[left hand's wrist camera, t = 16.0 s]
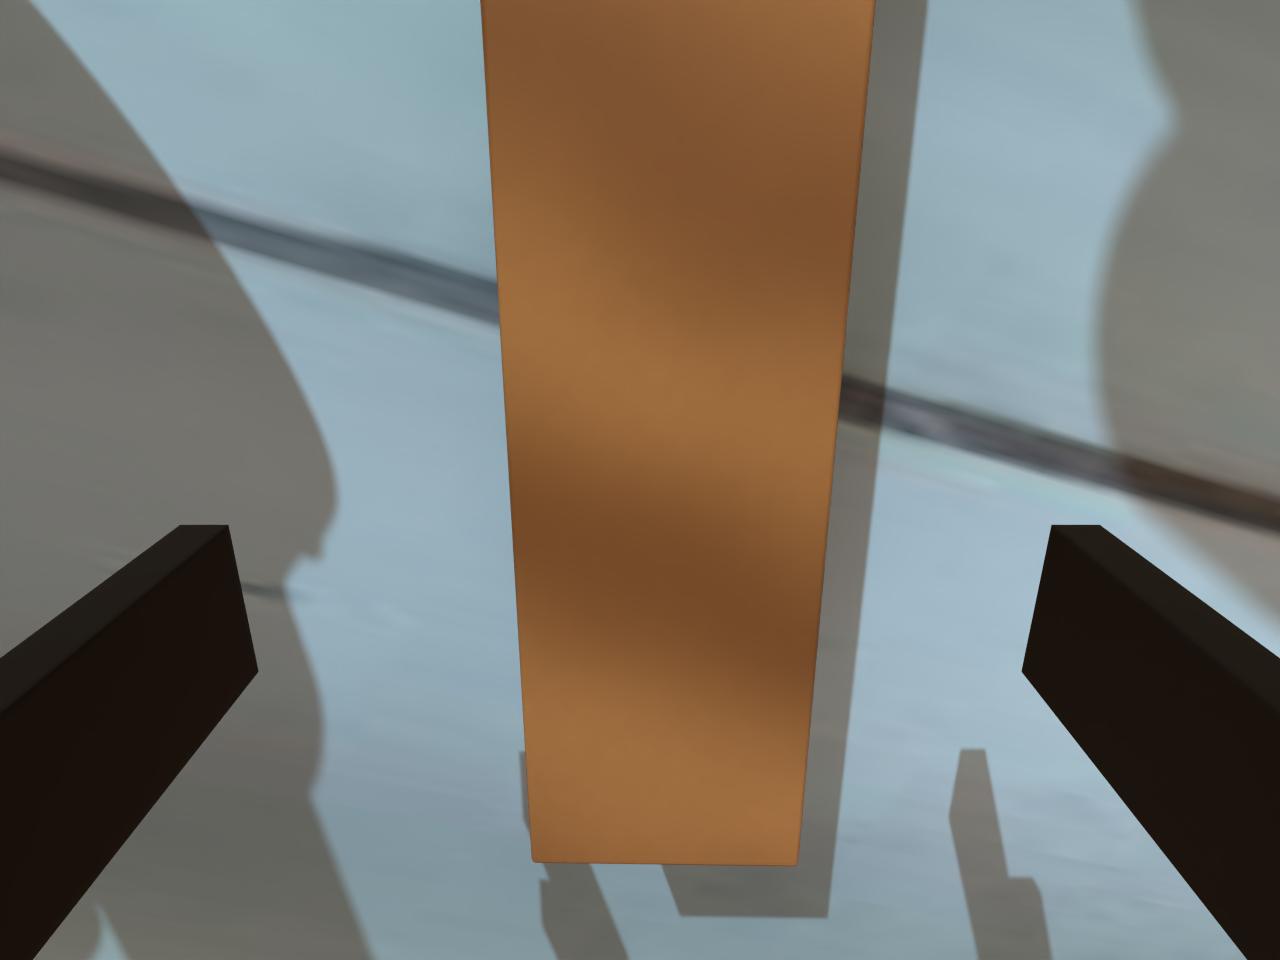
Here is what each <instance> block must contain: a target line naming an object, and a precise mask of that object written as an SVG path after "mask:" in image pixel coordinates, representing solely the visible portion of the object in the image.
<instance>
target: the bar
mask: <svg viewBox="0 0 1280 960" xmlns="http://www.w3.org/2000/svg"><path fill="white" fill-rule="evenodd" d="M480 2H481V18H482V35H483V52H484V69H485V85H486V102H487V119H488V135H489V152H490V169H491V186H492V202H493V219H494V236H495V252H496V269H497V286H498V303H499V319H500V336H501V353H502V369H503V386H504V403H505V420H506V436H507V453H508V470H509V487H510V503H511V520H512V537H513V553H514V570H515V587H516V604H517V620H518V637H519V654H520V670H521V687H522V704H523V721H524V737H525V754H526V771H527V787H528V804H529V821H530V838H531V854H532V860H533V862H536V863H602V864H675V865H748V866H796V865H797V863H798V857H799V846H800V835H801V823H802V812H803V801H804V790H805V779H806V768H807V757H808V746H809V735H810V724H811V712H812V701H813V690H814V679H815V668H816V657H817V646H818V635H819V624H820V612H821V601H822V590H823V579H824V568H825V557H826V546H827V535H828V524H829V513H830V501H831V490H832V479H833V468H834V457H835V446H836V435H837V424H838V413H839V402H840V390H841V379H842V368H843V357H844V346H845V335H846V324H847V313H848V302H849V290H850V279H851V268H852V257H853V246H854V235H855V224H856V213H857V202H858V191H859V179H860V168H861V157H862V146H863V135H864V124H865V113H866V102H867V91H868V79H869V68H870V57H871V46H872V35H873V24H874V13H875V2H876V0H480Z"/></svg>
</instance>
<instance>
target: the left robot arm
mask: <svg viewBox="0 0 1280 960" xmlns="http://www.w3.org/2000/svg"><path fill="white" fill-rule="evenodd" d="M257 673H258V667H257V662H256V657H255V652H254V648H253V643H252V638H251V633H250V628H249V623H248V618H247V613H246V609H245V604H244V599H243V594H242V589H241V584H240V579H239V574H238V570H237V565H236V560H235V555H234V550H233V545H232V540H231V535H230V531H229V526H228V525H180V526H178V527H177V528H175V529H174V530H173V531H171V532H170V533H169V534H167V535H166V536H165V537H163V538H162V539H161V540H159V541H158V542H157V543H155V544H154V545H153V546H151V547H150V548H148V549H147V550H146V551H144V552H143V553H142V554H140V555H139V556H138V557H136V558H135V559H134V560H132V561H131V562H130V563H128V564H127V565H126V566H124V567H123V568H121V569H120V570H119V571H117V572H116V573H115V574H113V575H112V576H111V577H109V578H108V579H107V580H105V581H104V582H103V583H101V584H100V585H99V586H97V587H96V588H94V589H93V590H92V591H90V592H89V593H88V594H86V595H85V596H84V597H82V598H81V599H80V600H78V601H77V602H76V603H74V604H73V605H72V606H70V607H69V608H67V609H66V610H65V611H63V612H62V613H61V614H59V615H58V616H57V617H55V618H54V619H53V620H51V621H50V622H49V623H47V624H46V625H45V626H43V627H42V628H40V629H39V630H38V631H36V632H35V633H34V634H32V635H31V636H30V637H28V638H27V639H26V640H24V641H23V642H22V643H20V644H19V645H18V646H16V647H15V648H13V649H12V650H11V651H9V652H8V653H7V654H5V655H4V656H3V657H1V658H0V960H33V959H34V957H35V956H36V955H37V954H38V952H39V951H40V950H41V948H42V947H43V946H44V945H45V943H46V942H47V941H48V940H49V938H50V937H51V936H52V934H53V933H54V932H55V931H56V929H57V928H58V927H59V925H60V924H61V923H62V922H63V920H64V919H65V918H66V917H67V915H68V914H69V913H70V911H71V910H72V909H73V908H74V906H75V905H76V904H77V903H78V901H79V900H80V899H81V897H82V896H83V895H84V894H85V892H86V891H87V890H88V888H89V887H90V886H91V885H92V883H93V882H94V881H95V880H96V878H97V877H98V876H99V874H100V873H101V872H102V871H103V869H104V868H105V867H106V865H107V864H108V863H109V862H110V860H111V859H112V858H113V857H114V855H115V854H116V853H117V851H118V850H119V849H120V848H121V846H122V845H123V844H124V843H125V841H126V840H127V839H128V837H129V836H130V835H131V834H132V832H133V831H134V830H135V828H136V827H137V826H138V825H139V823H140V822H141V821H142V820H143V818H144V817H145V816H146V814H147V813H148V812H149V811H150V809H151V808H152V807H153V805H154V804H155V803H156V802H157V800H158V799H159V798H160V797H161V795H162V794H163V793H164V791H165V790H166V789H167V788H168V786H169V785H170V784H171V783H172V781H173V780H174V779H175V777H176V776H177V775H178V774H179V772H180V771H181V770H182V768H183V767H184V766H185V765H186V763H187V762H188V761H189V760H190V758H191V757H192V756H193V754H194V753H195V752H196V751H197V749H198V748H199V747H200V745H201V744H202V743H203V742H204V740H205V739H206V738H207V737H208V735H209V734H210V733H211V731H212V730H213V729H214V728H215V726H216V725H217V724H218V723H219V721H220V720H221V719H222V717H223V716H224V715H225V714H226V712H227V711H228V710H229V708H230V707H231V706H232V705H233V703H234V702H235V701H236V700H237V698H238V697H239V696H240V694H241V693H242V692H243V691H244V689H245V688H246V687H247V685H248V684H249V683H250V682H251V680H252V679H253V678H254V677H255V675H256V674H257ZM1022 673H1023V674H1024V675H1025V677H1026V678H1027V679H1028V680H1029V682H1030V683H1031V684H1032V685H1033V687H1034V688H1035V689H1036V691H1037V692H1038V693H1039V694H1040V696H1041V697H1042V698H1043V700H1044V701H1045V702H1046V703H1047V705H1048V706H1049V707H1050V708H1051V710H1052V711H1053V712H1054V714H1055V715H1056V716H1057V717H1058V719H1059V720H1060V721H1061V723H1062V724H1063V725H1064V726H1065V728H1066V729H1067V730H1068V731H1069V733H1070V734H1071V735H1072V737H1073V738H1074V739H1075V740H1076V742H1077V743H1078V744H1079V745H1080V747H1081V748H1082V749H1083V751H1084V752H1085V753H1086V754H1087V756H1088V757H1089V758H1090V760H1091V761H1092V762H1093V763H1094V765H1095V766H1096V767H1097V768H1098V770H1099V771H1100V772H1101V774H1102V775H1103V776H1104V777H1105V779H1106V780H1107V781H1108V783H1109V784H1110V785H1111V786H1112V788H1113V789H1114V790H1115V791H1116V793H1117V794H1118V795H1119V797H1120V798H1121V799H1122V800H1123V802H1124V803H1125V804H1126V805H1127V807H1128V808H1129V809H1130V811H1131V812H1132V813H1133V814H1134V816H1135V817H1136V818H1137V820H1138V821H1139V822H1140V823H1141V825H1142V826H1143V827H1144V828H1145V830H1146V831H1147V832H1148V834H1149V835H1150V836H1151V837H1152V839H1153V840H1154V841H1155V843H1156V844H1157V845H1158V846H1159V848H1160V849H1161V850H1162V851H1163V853H1164V854H1165V855H1166V857H1167V858H1168V859H1169V860H1170V862H1171V863H1172V864H1173V865H1174V867H1175V868H1176V869H1177V871H1178V872H1179V873H1180V874H1181V876H1182V877H1183V878H1184V880H1185V881H1186V882H1187V883H1188V885H1189V886H1190V887H1191V888H1192V890H1193V891H1194V892H1195V894H1196V895H1197V896H1198V897H1199V899H1200V900H1201V901H1202V903H1203V904H1204V905H1205V906H1206V908H1207V909H1208V910H1209V911H1210V913H1211V914H1212V915H1213V917H1214V918H1215V919H1216V920H1217V922H1218V923H1219V924H1220V925H1221V927H1222V928H1223V929H1224V931H1225V932H1226V933H1227V934H1228V936H1229V937H1230V938H1231V940H1232V941H1233V942H1234V943H1235V945H1236V946H1237V947H1238V948H1239V950H1240V951H1241V952H1242V954H1243V955H1244V956H1245V957H1246V959H1247V960H1280V658H1279V657H1277V656H1276V655H1275V654H1273V653H1272V652H1271V651H1269V650H1268V649H1266V648H1265V647H1264V646H1262V645H1261V644H1260V643H1258V642H1257V641H1256V640H1254V639H1253V638H1252V637H1250V636H1249V635H1248V634H1246V633H1245V632H1244V631H1242V630H1241V629H1239V628H1238V627H1237V626H1235V625H1234V624H1233V623H1231V622H1230V621H1229V620H1227V619H1226V618H1225V617H1223V616H1222V615H1221V614H1219V613H1218V612H1217V611H1215V610H1214V609H1213V608H1211V607H1210V606H1208V605H1207V604H1206V603H1204V602H1203V601H1202V600H1200V599H1199V598H1198V597H1196V596H1195V595H1194V594H1192V593H1191V592H1190V591H1188V590H1187V589H1186V588H1184V587H1183V586H1181V585H1180V584H1179V583H1177V582H1176V581H1175V580H1173V579H1172V578H1171V577H1169V576H1168V575H1167V574H1165V573H1164V572H1163V571H1161V570H1160V569H1159V568H1157V567H1156V566H1154V565H1153V564H1152V563H1150V562H1149V561H1148V560H1146V559H1145V558H1144V557H1142V556H1141V555H1140V554H1138V553H1137V552H1136V551H1134V550H1133V549H1132V548H1130V547H1129V546H1127V545H1126V544H1125V543H1123V542H1122V541H1121V540H1119V539H1118V538H1117V537H1115V536H1114V535H1113V534H1111V533H1110V532H1109V531H1107V530H1106V529H1105V528H1103V527H1102V526H1100V525H1052V526H1051V531H1050V535H1049V540H1048V545H1047V550H1046V555H1045V560H1044V565H1043V570H1042V574H1041V579H1040V584H1039V589H1038V594H1037V599H1036V604H1035V609H1034V613H1033V618H1032V623H1031V628H1030V633H1029V638H1028V643H1027V648H1026V652H1025V657H1024V662H1023V667H1022Z"/></svg>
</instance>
